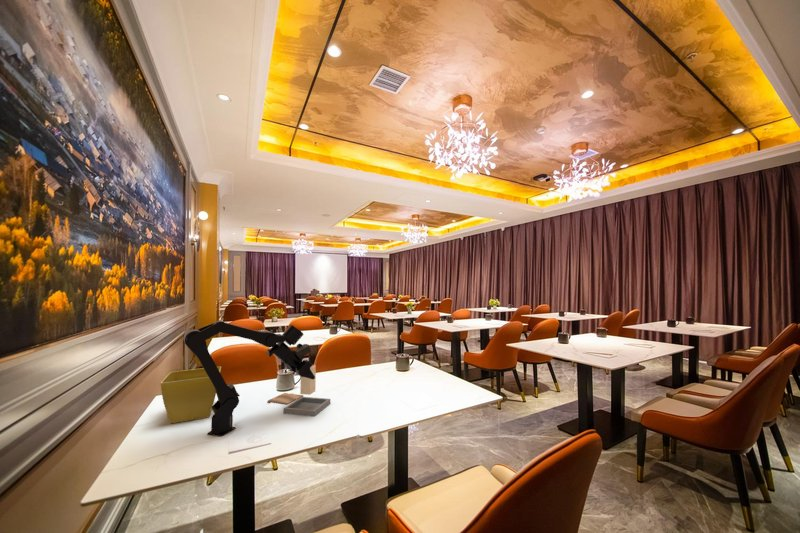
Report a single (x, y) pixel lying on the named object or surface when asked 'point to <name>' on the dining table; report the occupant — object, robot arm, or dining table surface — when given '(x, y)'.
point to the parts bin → (307, 406)
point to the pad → (285, 398)
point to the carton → (308, 383)
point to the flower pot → (188, 395)
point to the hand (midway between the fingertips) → (311, 376)
